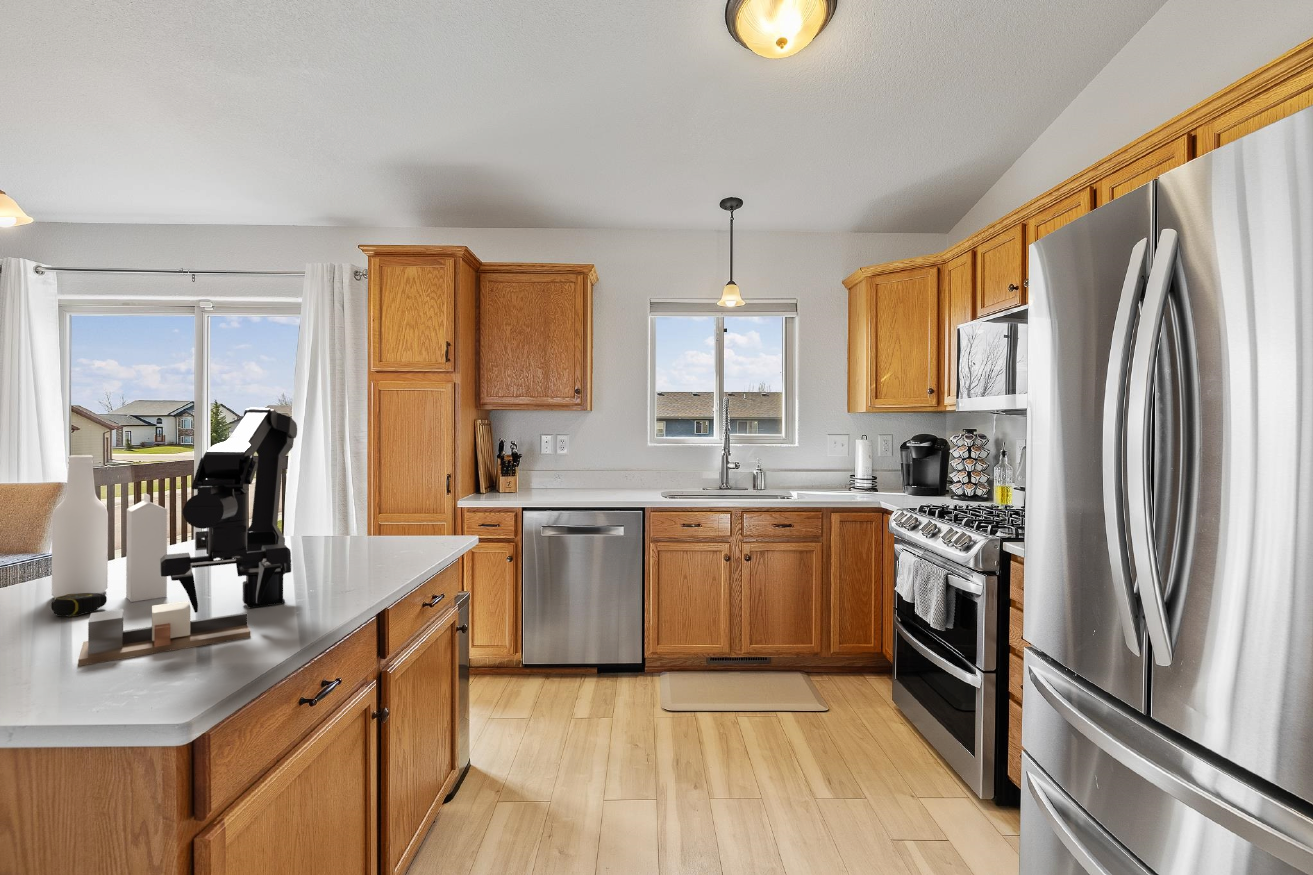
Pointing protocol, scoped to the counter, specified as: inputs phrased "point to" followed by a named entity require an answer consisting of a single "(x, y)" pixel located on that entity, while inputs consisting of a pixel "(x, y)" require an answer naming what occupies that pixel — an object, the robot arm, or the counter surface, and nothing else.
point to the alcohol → (80, 534)
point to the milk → (145, 551)
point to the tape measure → (78, 603)
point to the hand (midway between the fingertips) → (227, 607)
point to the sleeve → (172, 618)
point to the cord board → (174, 646)
